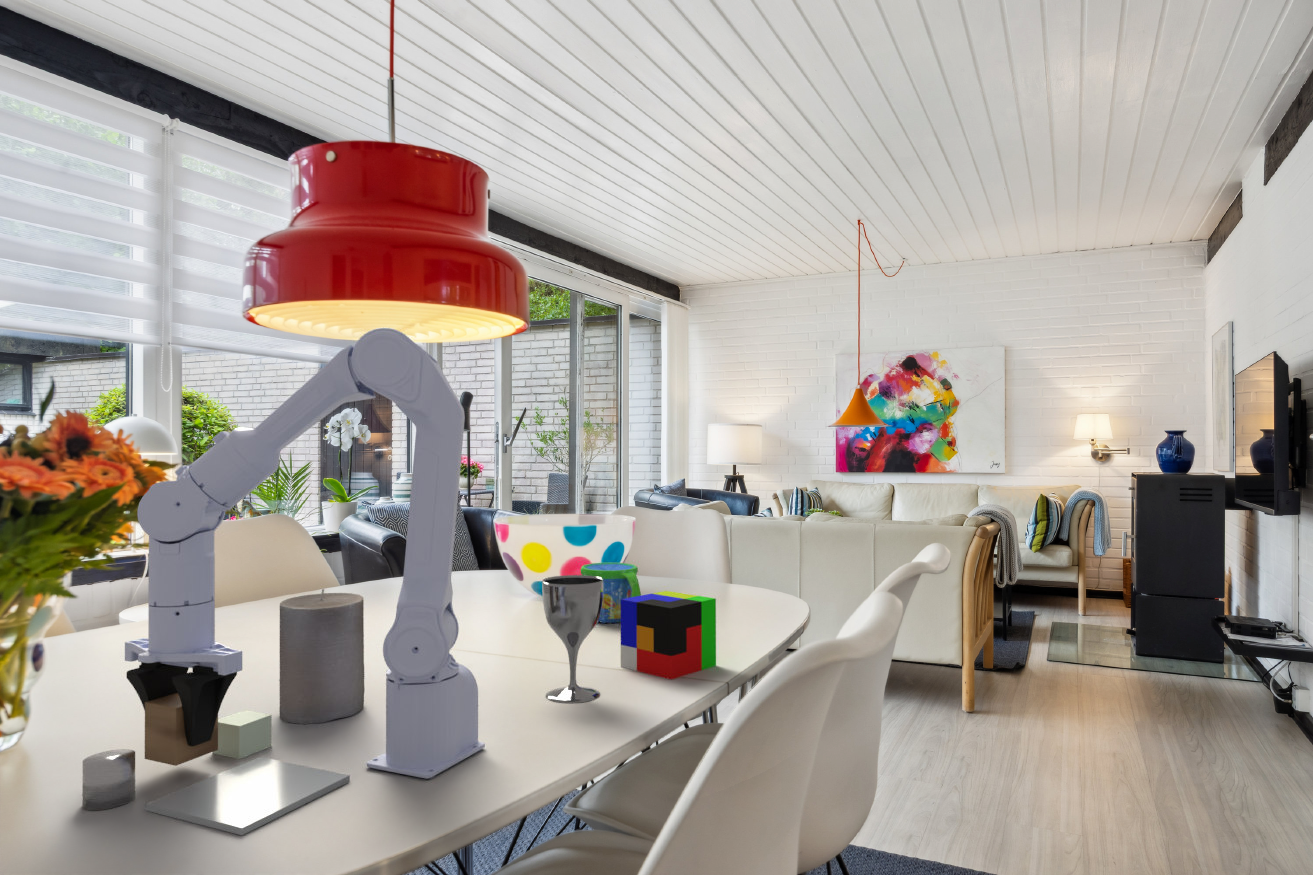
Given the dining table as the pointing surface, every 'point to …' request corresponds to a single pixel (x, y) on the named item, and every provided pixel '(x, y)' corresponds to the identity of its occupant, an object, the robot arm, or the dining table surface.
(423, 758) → the robot arm
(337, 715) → the pillar candle
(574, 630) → the wine glass
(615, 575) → the snack cup
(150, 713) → the walnut block
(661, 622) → the puzzle toy
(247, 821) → the slate tile
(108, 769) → the grey cylinder
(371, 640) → the dining table surface
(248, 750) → the sage box
